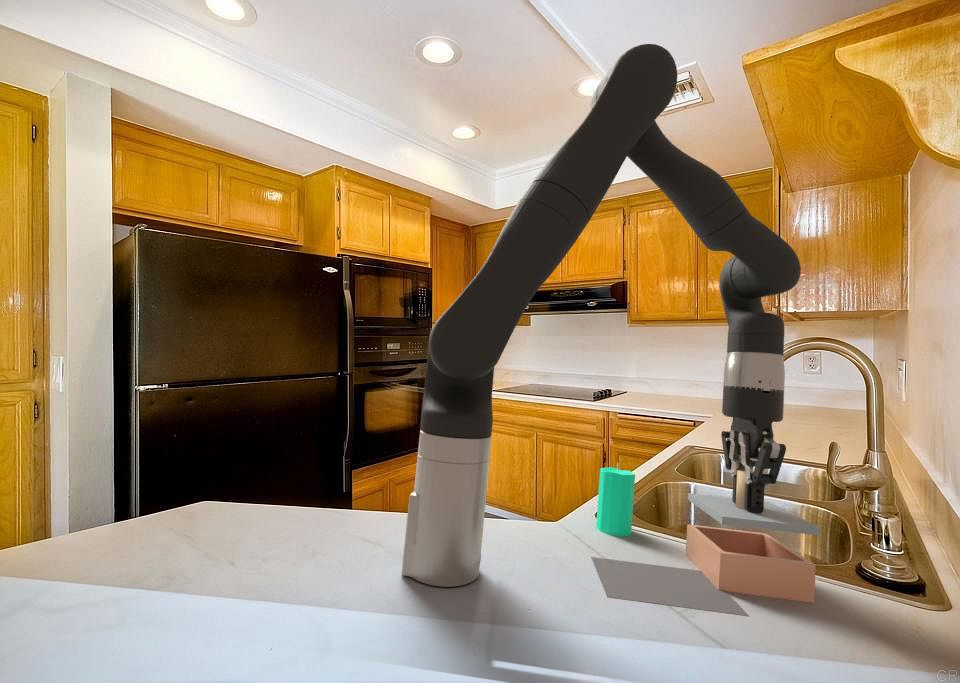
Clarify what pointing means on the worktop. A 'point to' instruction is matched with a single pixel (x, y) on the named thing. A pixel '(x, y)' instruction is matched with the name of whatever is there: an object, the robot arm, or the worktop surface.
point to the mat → (663, 586)
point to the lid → (738, 516)
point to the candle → (615, 501)
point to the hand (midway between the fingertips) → (747, 507)
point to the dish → (750, 563)
